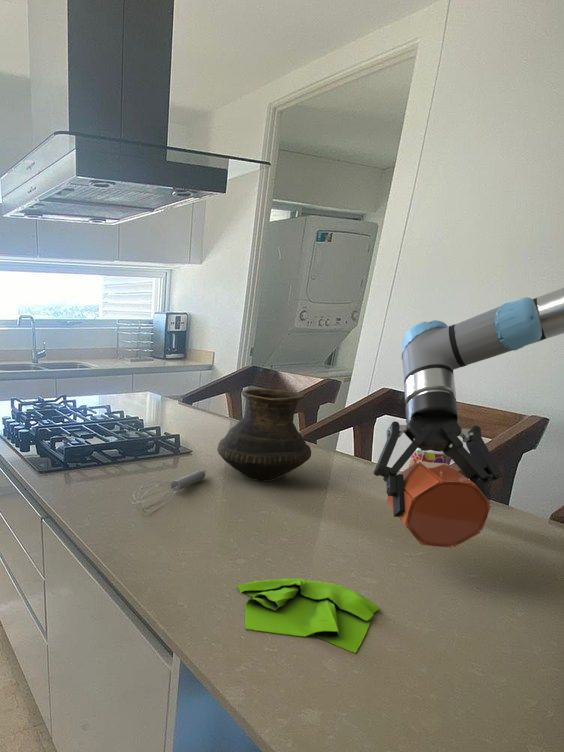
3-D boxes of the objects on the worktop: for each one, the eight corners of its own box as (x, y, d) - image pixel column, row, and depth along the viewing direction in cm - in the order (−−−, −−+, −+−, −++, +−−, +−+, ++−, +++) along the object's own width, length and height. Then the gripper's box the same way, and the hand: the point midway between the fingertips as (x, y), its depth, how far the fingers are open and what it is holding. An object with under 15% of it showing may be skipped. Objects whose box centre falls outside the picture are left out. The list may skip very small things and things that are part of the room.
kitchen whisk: (214, 479, 131) (217, 456, 128) (149, 521, 106) (150, 494, 103) (194, 474, 134) (196, 452, 132) (126, 514, 109) (126, 488, 106)
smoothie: (406, 493, 123) (428, 415, 115) (442, 503, 117) (469, 421, 109) (392, 501, 118) (414, 419, 110) (429, 512, 112) (456, 426, 104)
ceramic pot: (315, 472, 138) (331, 391, 128) (291, 498, 119) (308, 406, 110) (233, 457, 150) (242, 382, 141) (200, 478, 131) (208, 394, 122)
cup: (382, 518, 87) (397, 460, 83) (449, 524, 85) (468, 464, 81) (399, 543, 79) (417, 478, 74) (475, 550, 76) (498, 484, 72)
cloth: (394, 608, 76) (398, 595, 75) (335, 676, 62) (339, 661, 61) (275, 562, 89) (277, 550, 88) (205, 608, 75) (206, 595, 74)
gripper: (492, 417, 87) (507, 532, 79) (352, 410, 91) (353, 518, 83) (519, 392, 80) (538, 515, 72) (365, 385, 84) (368, 501, 77)
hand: (439, 517), depth 78 cm, fingers closed on cup, 11 cm apart
